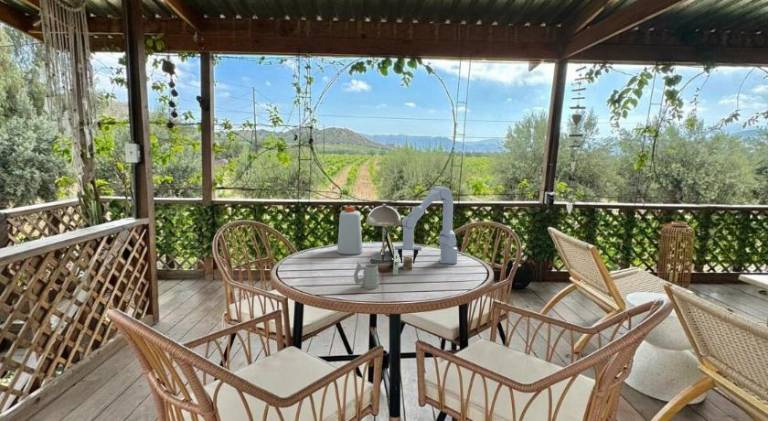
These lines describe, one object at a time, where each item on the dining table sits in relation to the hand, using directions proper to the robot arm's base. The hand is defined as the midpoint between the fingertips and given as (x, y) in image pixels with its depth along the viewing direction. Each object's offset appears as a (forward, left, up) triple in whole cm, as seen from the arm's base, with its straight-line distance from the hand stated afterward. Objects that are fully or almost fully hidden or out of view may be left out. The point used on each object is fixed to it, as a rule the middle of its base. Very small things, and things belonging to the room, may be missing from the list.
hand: (407, 263), depth 205 cm
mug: (+20, +30, -3) cm, 36 cm away
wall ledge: (+6, 0, -2) cm, 7 cm away
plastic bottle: (+36, -28, -3) cm, 45 cm away
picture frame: (+13, -22, -3) cm, 26 cm away
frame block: (0, 0, -3) cm, 3 cm away
